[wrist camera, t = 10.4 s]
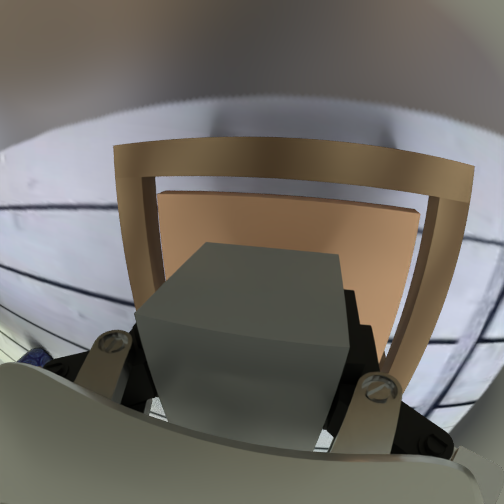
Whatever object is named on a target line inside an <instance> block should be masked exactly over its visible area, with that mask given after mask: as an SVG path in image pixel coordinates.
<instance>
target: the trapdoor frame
mask: <svg viewBox="0 0 504 504" xmlns="http://www.w3.org/2000/svg"><path fill="white" fill-rule="evenodd" d="M113 148H114V167H115V180H116V192H117V201H118V210H119V219H120V226H121V233H122V240H123V246H124V253H125V259H126V264H127V270H128V275H129V280H130V285H131V290H132V294H133V299H134V303H135V308H136V311H137V310H138V309H139V308H140V307H141V306H142V305H143V304H144V303H145V302H146V301H147V300H148V299H149V298H150V297H151V296H152V295H153V294H154V293H155V292H156V291H157V290H158V289H159V288H160V287H161V286H162V285H163V284H164V283H165V282H166V281H165V274H164V267H163V259H162V251H161V242H160V232H159V222H158V211H157V199H156V184H155V177H156V176H231V177H259V178H278V179H294V180H308V181H320V182H331V183H341V184H350V185H359V186H368V187H376V188H383V189H391V190H398V191H404V192H411V193H417V194H423V195H429V199H428V206H427V212H426V218H425V224H424V229H423V234H422V239H421V244H420V249H419V253H418V258H417V262H416V266H415V270H414V274H413V278H412V281H411V285H410V289H409V292H408V296H407V299H406V302H405V306H404V309H403V312H402V315H401V318H400V321H399V324H398V327H397V330H396V333H395V336H394V338H393V341H392V344H391V346H390V349H389V352H388V354H387V357H386V356H385V351H384V352H383V355H382V357H381V360H380V362H379V368H380V372H384V373H387V374H390V375H392V376H393V377H395V378H396V379H397V380H398V381H399V383H400V384H401V387H402V394H403V393H404V391H405V389H406V387H407V385H408V383H409V382H410V380H411V378H412V376H413V374H414V372H415V370H416V368H417V366H418V364H419V362H420V360H421V357H422V355H423V353H424V351H425V349H426V347H427V344H428V342H429V340H430V337H431V335H432V333H433V330H434V328H435V325H436V323H437V320H438V318H439V315H440V312H441V310H442V307H443V304H444V301H445V298H446V296H447V293H448V290H449V286H450V283H451V280H452V277H453V274H454V270H455V267H456V263H457V259H458V256H459V252H460V248H461V244H462V240H463V235H464V231H465V226H466V221H467V216H468V210H469V205H470V198H471V192H472V185H473V176H474V167H475V166H472V165H468V164H465V163H461V162H457V161H453V160H448V159H444V158H440V157H435V156H430V155H426V154H421V153H416V152H410V151H405V150H399V149H393V148H386V147H380V146H373V145H365V144H357V143H349V142H339V141H329V140H317V139H302V138H282V137H205V138H185V139H171V140H159V141H148V142H139V143H130V144H122V145H115V146H113Z"/></svg>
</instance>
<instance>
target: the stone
mask: <svg viewBox="0 0 504 504" xmlns="http://www.w3.org/2000/svg"><path fill="white" fill-rule="evenodd" d="M134 315H135V319H136V323H137V327H138V331H139V335H140V338H141V342H142V346H143V349H144V352H145V356H146V359H147V362H148V366H149V369H150V372H151V375H152V378H153V381H154V384H155V387H156V390H157V393H158V396H159V399H160V401H161V404H162V407H163V409H164V412H165V415H166V417H167V420H168V422H169V423H172V424H175V425H179V426H182V427H185V428H189V429H192V430H196V431H199V432H203V433H207V434H211V435H215V436H219V437H223V438H228V439H232V440H237V441H242V442H247V443H252V444H258V445H264V446H270V447H277V448H284V449H292V450H301V451H312V452H313V450H314V448H315V445H316V443H317V441H318V438H319V436H320V433H321V431H322V428H323V426H324V423H325V420H326V418H327V415H328V412H329V410H330V407H331V404H332V401H333V399H334V396H335V393H336V390H337V387H338V384H339V381H340V378H341V375H342V371H343V368H344V365H345V362H346V358H347V355H348V352H349V348H350V345H349V334H348V323H347V314H346V305H345V296H344V288H343V281H342V273H341V266H340V260H339V254H330V253H319V252H309V251H298V250H288V249H277V248H267V247H256V246H245V245H234V244H223V243H212V242H205V243H204V244H203V245H202V246H201V247H200V248H199V249H198V250H197V251H196V252H195V253H194V254H193V255H192V256H191V257H190V258H189V259H188V260H187V261H186V262H185V263H184V264H183V265H182V266H181V267H180V268H179V269H178V270H177V271H176V272H175V273H174V274H173V275H172V276H171V277H170V278H169V279H168V280H167V281H166V282H165V283H164V284H163V285H162V286H161V287H160V288H159V289H158V290H157V291H156V292H155V293H154V294H153V295H152V296H151V297H150V298H149V299H148V300H147V301H146V302H145V303H144V304H143V305H142V306H141V307H140V308H139V309H138V310H137V311H136V312H135V313H134Z"/></svg>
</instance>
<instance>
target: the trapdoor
mask: <svg viewBox="0 0 504 504" xmlns="http://www.w3.org/2000/svg"><path fill="white" fill-rule="evenodd" d="M157 200H158V213H159V224H160V234H161V243H162V252H163V260H164V268H165V275H166V281H167V280H168V279H169V278H170V277H171V276H172V275H173V274H174V273H175V272H176V271H177V270H178V269H179V268H180V267H181V266H182V265H183V264H184V263H185V262H186V261H187V260H188V259H189V258H190V257H191V256H192V255H193V254H194V253H195V252H196V251H197V250H198V249H199V248H200V247H201V246H202V245H203V244H204V243H205V242H212V243H223V244H234V245H245V246H256V247H267V248H277V249H288V250H298V251H309V252H319V253H330V254H339V260H340V266H341V273H342V281H343V288H344V289H347V290H354V291H355V297H356V302H357V308H358V314H359V320H360V324H364V325H371V327H372V330H373V335H374V340H375V345H376V351H377V356H378V362H380V360H381V357H382V355H383V352H384V349H385V347H386V344H387V341H388V338H389V335H390V332H391V329H392V327H393V324H394V320H395V317H396V314H397V311H398V308H399V304H400V301H401V298H402V294H403V291H404V287H405V283H406V279H407V275H408V272H409V267H410V263H411V259H412V255H413V250H414V245H415V241H416V236H417V230H418V225H419V219H420V213H419V212H417V211H416V210H415V209H411V208H404V207H396V206H389V205H381V204H373V203H364V202H355V201H346V200H336V199H326V198H315V197H303V196H290V195H276V194H259V193H240V192H214V191H163V192H161V193H158V194H157ZM322 429H323V428H322Z"/></svg>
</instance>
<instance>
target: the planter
mask: <svg viewBox="0 0 504 504" xmlns="http://www.w3.org/2000/svg"><path fill="white" fill-rule="evenodd" d="M50 360H52V358H51V357H50V356H49V355H48V354H47V353H46V352H45V351H44V350H42V349H40V348H33V349H31V350H30V351H28V352H27V353H26V354H24V355H23V356H22V357H21V358H20V359H19V360H18V361H17V362H18V363H26V364H30V365H34V366H41V367H43V366H44V365H45V364H46V363H47V362H49V361H50Z"/></svg>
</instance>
